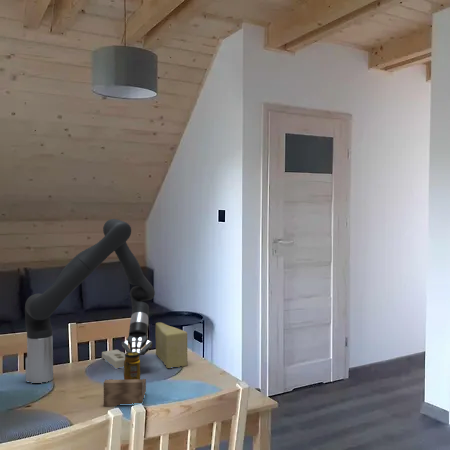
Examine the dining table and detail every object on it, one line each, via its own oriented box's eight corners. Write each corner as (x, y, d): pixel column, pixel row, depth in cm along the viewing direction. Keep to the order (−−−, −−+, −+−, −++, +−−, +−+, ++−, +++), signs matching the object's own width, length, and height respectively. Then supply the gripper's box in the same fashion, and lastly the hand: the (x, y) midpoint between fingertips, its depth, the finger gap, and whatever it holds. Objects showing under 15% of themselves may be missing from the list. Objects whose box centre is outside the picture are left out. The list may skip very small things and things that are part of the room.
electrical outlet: (117, 347, 229) (131, 358, 213) (117, 356, 229) (132, 367, 213) (101, 349, 225) (115, 360, 210) (101, 359, 225) (115, 370, 210)
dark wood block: (103, 406, 172) (103, 382, 172) (109, 394, 183) (109, 372, 182) (142, 405, 173) (142, 382, 172) (145, 394, 183) (145, 372, 183)
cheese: (147, 355, 229) (146, 322, 228) (167, 352, 234) (166, 320, 233) (166, 370, 210) (166, 333, 209) (188, 366, 215) (188, 330, 214)
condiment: (142, 381, 196) (142, 350, 195) (139, 389, 188) (139, 357, 187) (123, 381, 196) (123, 350, 195) (119, 390, 187) (119, 357, 187)
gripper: (121, 321, 210) (116, 359, 198) (154, 320, 210) (151, 359, 199) (124, 330, 216) (119, 368, 204) (155, 330, 216) (152, 368, 204)
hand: (135, 364), depth 201 cm, fingers closed
